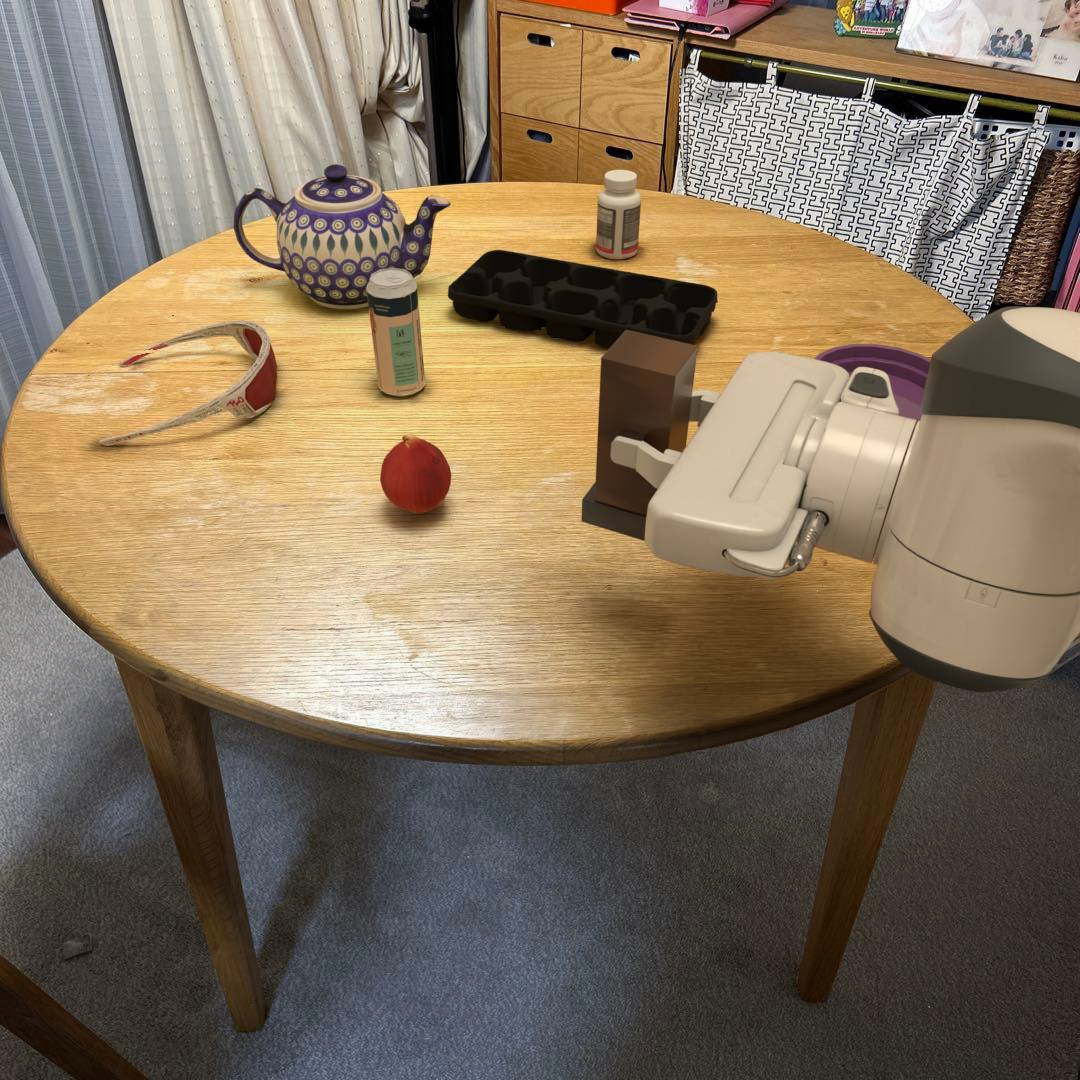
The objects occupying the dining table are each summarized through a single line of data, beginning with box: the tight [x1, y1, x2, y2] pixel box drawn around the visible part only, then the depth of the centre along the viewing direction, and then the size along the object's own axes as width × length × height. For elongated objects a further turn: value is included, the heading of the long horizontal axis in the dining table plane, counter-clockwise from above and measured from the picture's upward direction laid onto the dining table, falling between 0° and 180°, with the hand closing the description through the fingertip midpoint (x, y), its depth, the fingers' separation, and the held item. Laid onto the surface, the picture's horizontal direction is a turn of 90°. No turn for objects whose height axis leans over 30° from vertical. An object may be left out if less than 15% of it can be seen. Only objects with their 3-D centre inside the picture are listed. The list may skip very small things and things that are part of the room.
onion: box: [379, 433, 452, 515], centre depth 80 cm, size 6×6×8 cm
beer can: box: [366, 268, 426, 398], centre depth 94 cm, size 5×5×12 cm
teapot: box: [233, 163, 452, 311], centre depth 110 cm, size 25×15×15 cm, turn 85°
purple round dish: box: [813, 343, 931, 425], centre depth 94 cm, size 14×14×3 cm
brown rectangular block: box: [581, 330, 699, 542], centre depth 63 cm, size 6×4×13 cm
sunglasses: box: [98, 320, 278, 447], centre depth 96 cm, size 17×17×5 cm
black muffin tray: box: [447, 249, 719, 350], centre depth 108 cm, size 18×30×4 cm, turn 79°
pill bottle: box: [595, 169, 642, 260], centre depth 120 cm, size 5×5×10 cm
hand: (631, 423), depth 62 cm, fingers closed on brown rectangular block, 4 cm apart
